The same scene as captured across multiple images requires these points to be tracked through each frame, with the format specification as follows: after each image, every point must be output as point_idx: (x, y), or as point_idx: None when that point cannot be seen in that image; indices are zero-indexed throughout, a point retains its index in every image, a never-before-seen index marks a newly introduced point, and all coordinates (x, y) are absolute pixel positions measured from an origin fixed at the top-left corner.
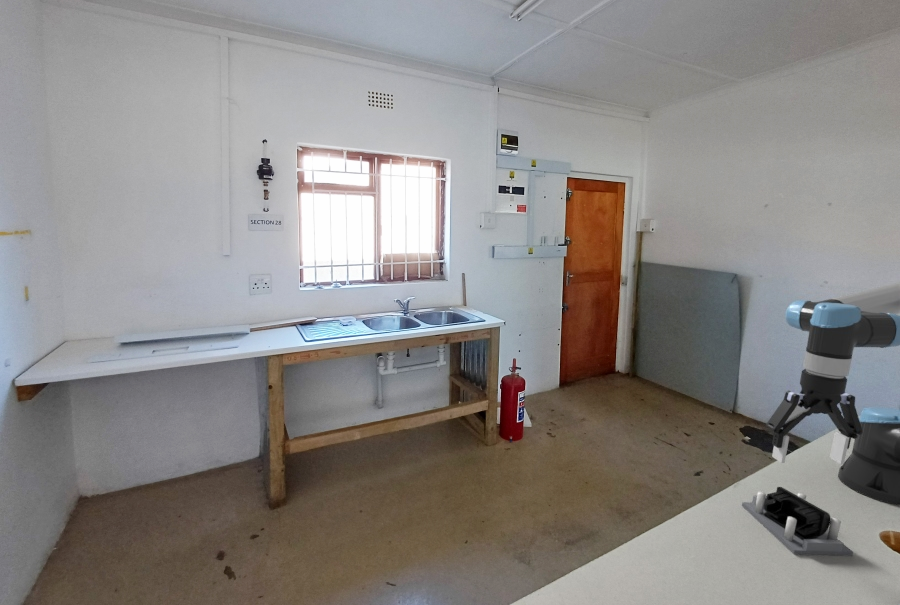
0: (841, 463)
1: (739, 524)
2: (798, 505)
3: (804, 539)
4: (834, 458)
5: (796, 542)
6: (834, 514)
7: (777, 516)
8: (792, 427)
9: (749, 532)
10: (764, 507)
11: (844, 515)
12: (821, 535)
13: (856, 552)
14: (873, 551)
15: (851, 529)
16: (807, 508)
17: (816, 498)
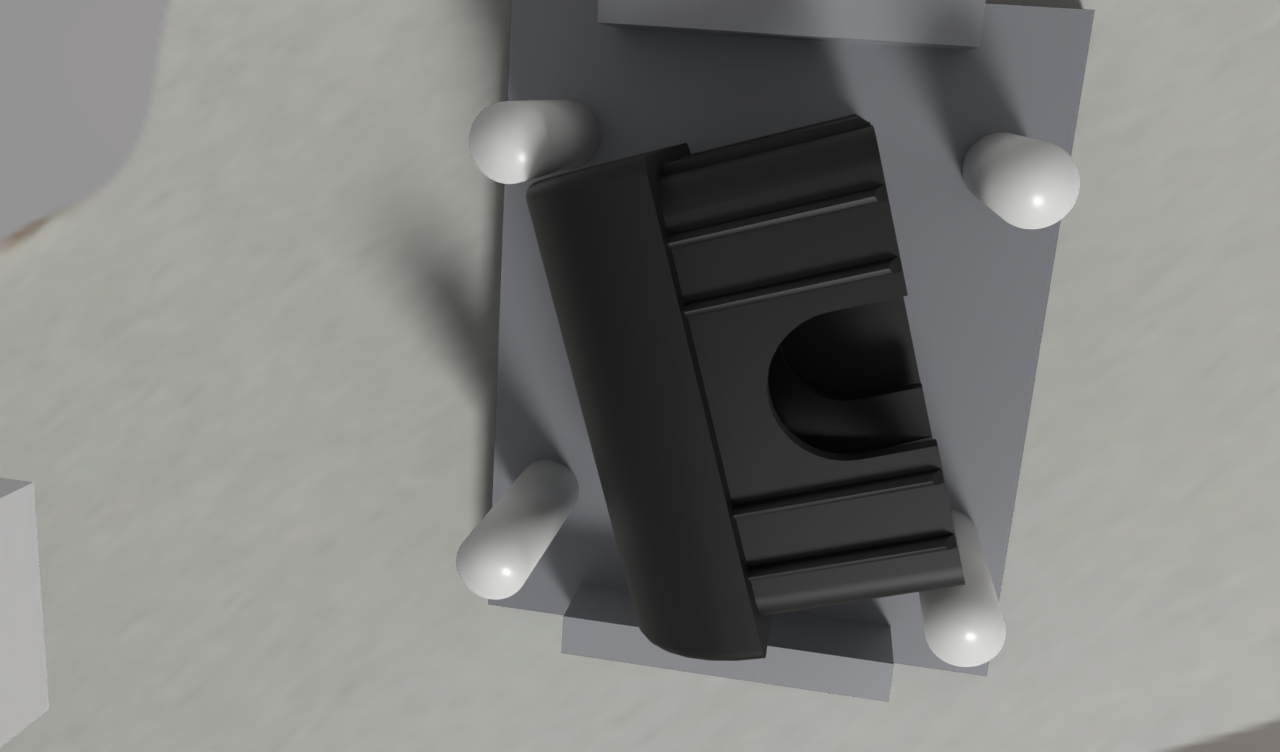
0: (5, 486)
1: (1265, 425)
2: (768, 364)
3: (975, 41)
4: (12, 637)
5: (962, 114)
6: (197, 469)
7: (914, 397)
8: None
9: (1266, 315)
10: None
11: (123, 451)
12: None
13: (443, 21)
14: (281, 29)
15: (221, 289)
16: (733, 287)
17: (170, 664)
